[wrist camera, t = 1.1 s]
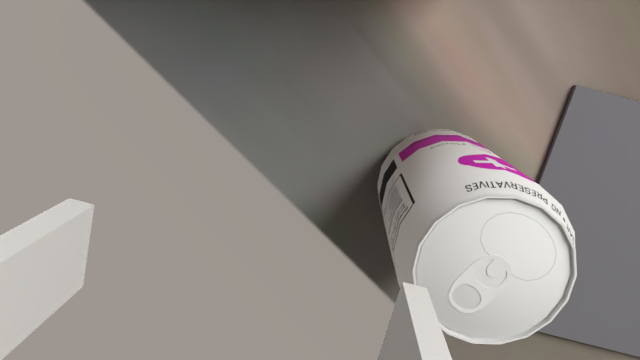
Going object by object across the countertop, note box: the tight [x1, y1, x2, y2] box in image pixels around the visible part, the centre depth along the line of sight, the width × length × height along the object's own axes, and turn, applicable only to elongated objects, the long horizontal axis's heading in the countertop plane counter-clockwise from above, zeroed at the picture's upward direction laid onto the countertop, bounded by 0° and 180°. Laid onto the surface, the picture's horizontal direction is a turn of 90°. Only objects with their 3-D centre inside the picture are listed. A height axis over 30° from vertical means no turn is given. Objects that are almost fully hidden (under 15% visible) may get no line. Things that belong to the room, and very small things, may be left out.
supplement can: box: [377, 129, 577, 344], centre depth 29 cm, size 8×8×15 cm
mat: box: [537, 85, 640, 357], centre depth 36 cm, size 18×16×1 cm
